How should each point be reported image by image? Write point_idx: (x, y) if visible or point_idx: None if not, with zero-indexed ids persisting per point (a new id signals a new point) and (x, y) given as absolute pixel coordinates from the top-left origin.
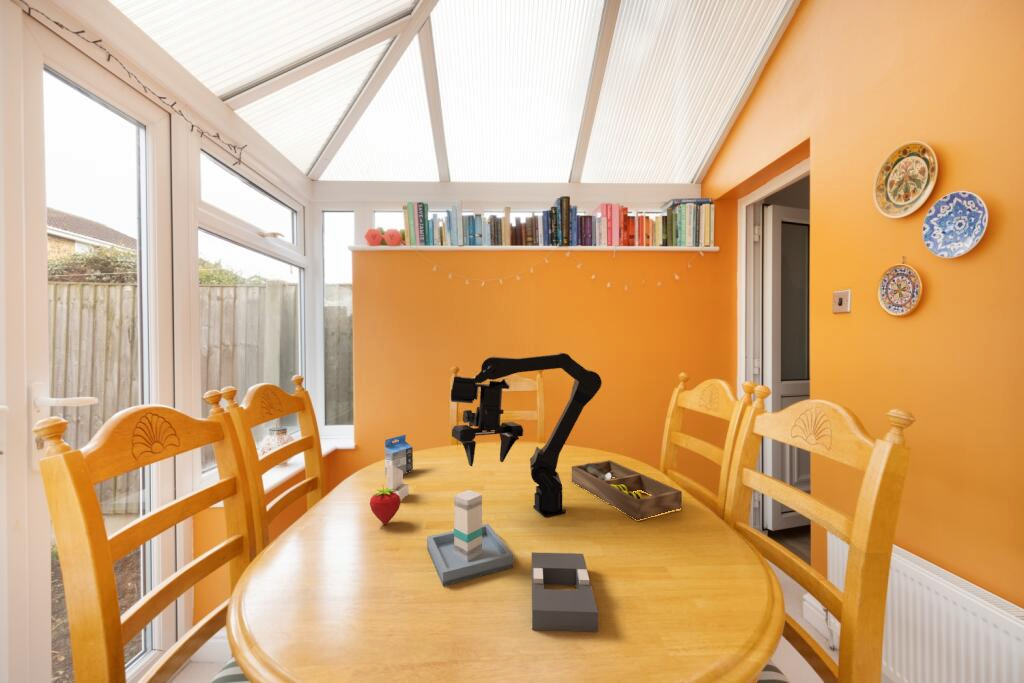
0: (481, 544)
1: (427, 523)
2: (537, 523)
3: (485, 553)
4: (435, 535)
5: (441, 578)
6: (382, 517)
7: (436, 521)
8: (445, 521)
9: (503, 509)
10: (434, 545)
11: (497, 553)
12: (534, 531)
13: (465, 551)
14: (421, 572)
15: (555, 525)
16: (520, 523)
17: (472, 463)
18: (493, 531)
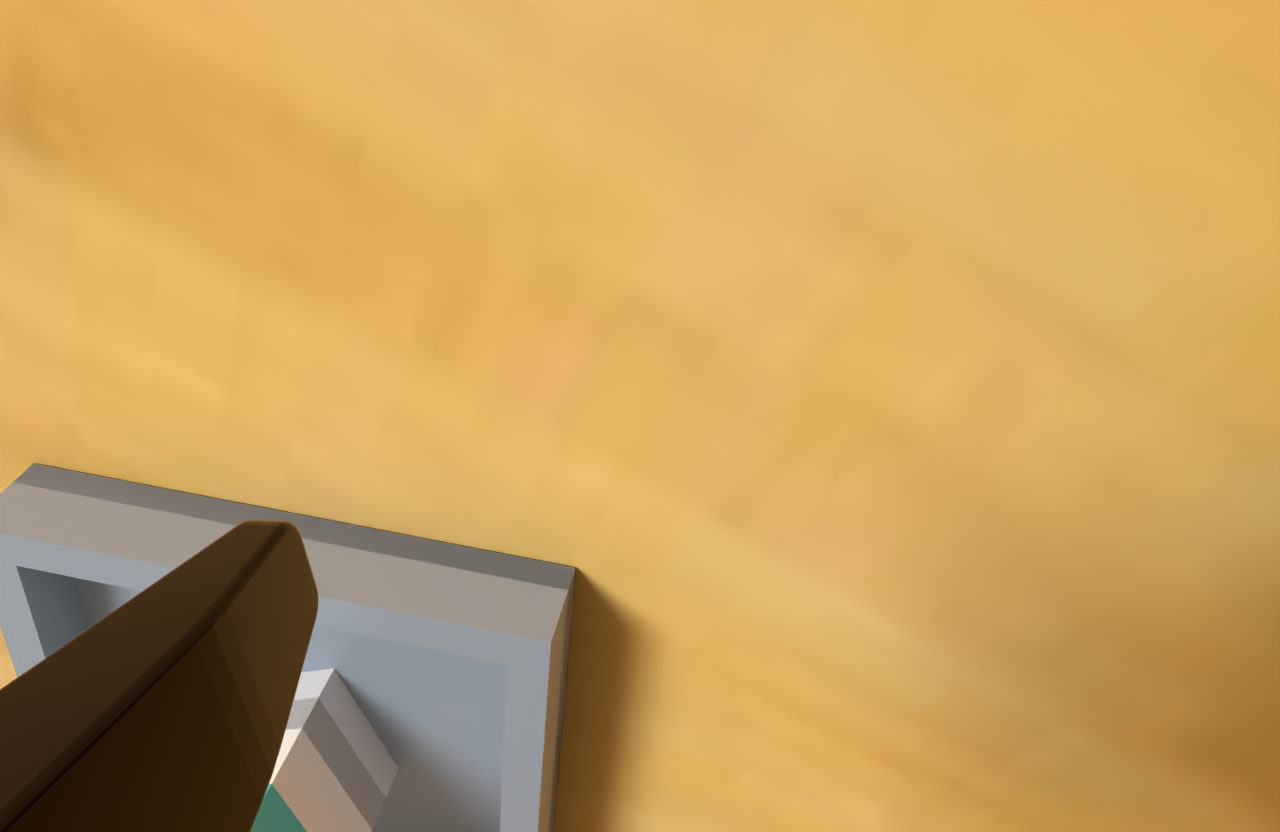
0: (370, 824)
1: (22, 21)
2: (1118, 669)
3: (420, 780)
4: (39, 550)
5: None
6: None
7: (131, 32)
8: (238, 96)
9: (1068, 215)
10: (33, 656)
11: (494, 821)
12: (973, 736)
13: None
14: (9, 661)
15: (1225, 773)
16: (974, 584)
17: (278, 693)
18: (534, 752)
